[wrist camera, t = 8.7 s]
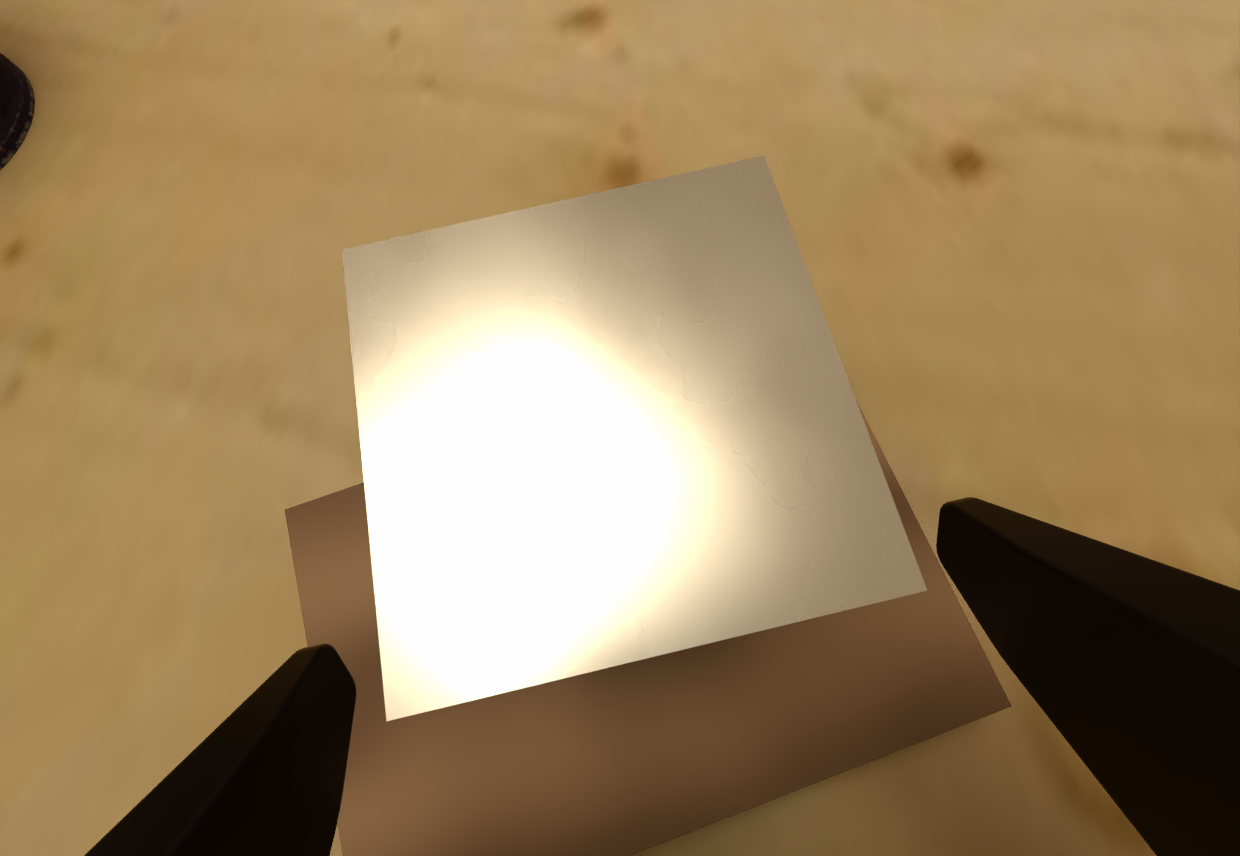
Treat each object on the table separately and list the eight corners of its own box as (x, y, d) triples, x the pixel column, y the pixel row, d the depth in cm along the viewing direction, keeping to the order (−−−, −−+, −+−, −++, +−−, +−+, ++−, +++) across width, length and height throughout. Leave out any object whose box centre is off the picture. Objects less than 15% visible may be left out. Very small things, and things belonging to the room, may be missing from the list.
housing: (744, 594, 16) (927, 590, 6) (557, 638, 16) (386, 721, 5) (693, 416, 18) (764, 156, 7) (524, 456, 18) (341, 249, 7)
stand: (952, 688, 18) (1011, 706, 15) (409, 899, 17) (360, 961, 14) (795, 362, 21) (818, 325, 18) (335, 522, 20) (284, 509, 17)
